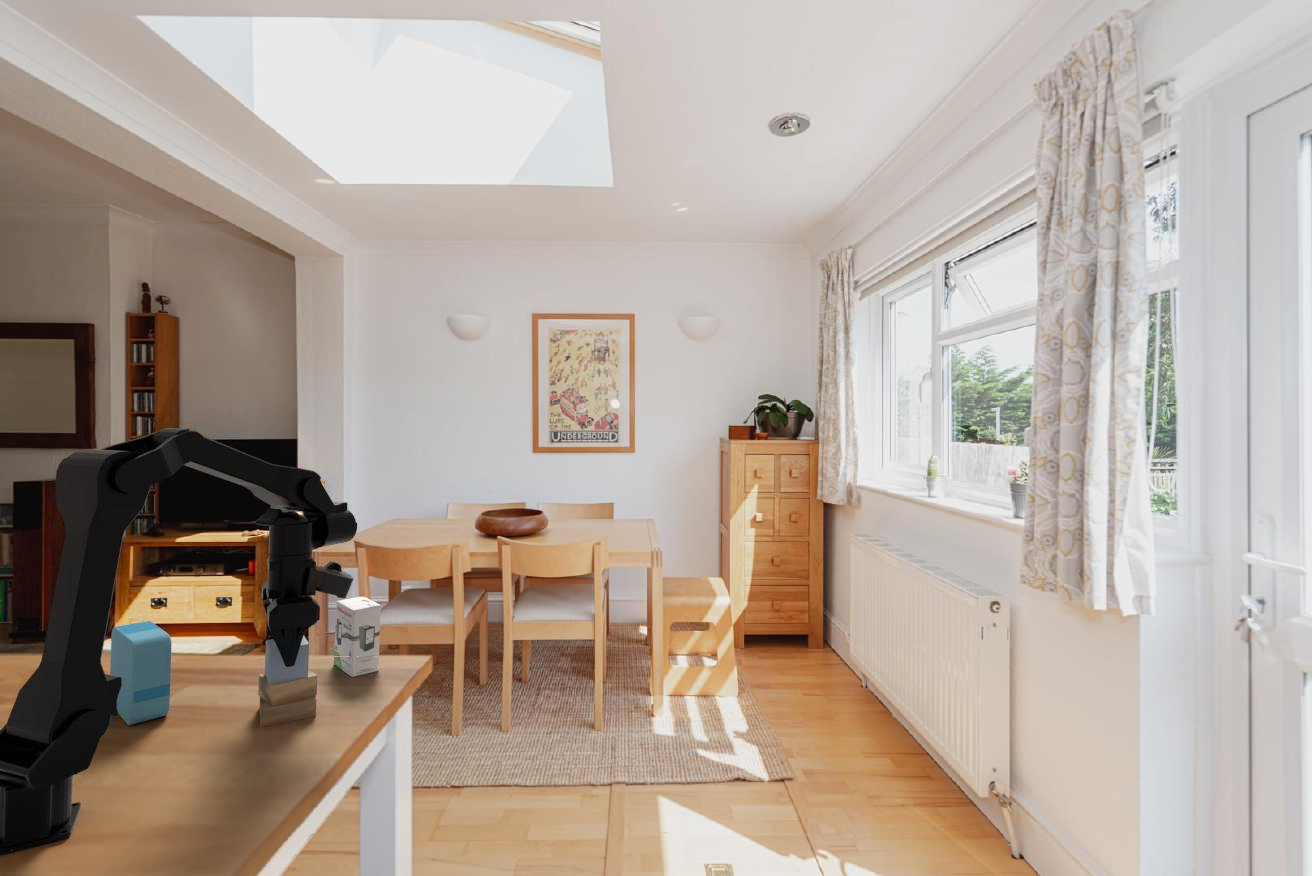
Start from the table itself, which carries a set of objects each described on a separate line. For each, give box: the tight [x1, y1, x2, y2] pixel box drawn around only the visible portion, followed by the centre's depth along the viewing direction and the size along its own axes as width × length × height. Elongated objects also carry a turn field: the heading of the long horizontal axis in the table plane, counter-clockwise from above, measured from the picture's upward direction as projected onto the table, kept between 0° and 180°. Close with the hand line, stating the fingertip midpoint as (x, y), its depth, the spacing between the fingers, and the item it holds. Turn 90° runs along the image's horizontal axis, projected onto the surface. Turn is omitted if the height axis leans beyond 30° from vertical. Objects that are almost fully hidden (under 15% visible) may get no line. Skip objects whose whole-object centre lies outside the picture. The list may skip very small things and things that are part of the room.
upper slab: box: [257, 668, 318, 707], centre depth 95 cm, size 6×6×3 cm
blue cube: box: [264, 634, 310, 684], centre depth 94 cm, size 5×5×5 cm
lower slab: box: [258, 695, 317, 728], centre depth 94 cm, size 7×7×3 cm
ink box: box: [333, 596, 382, 678], centre depth 113 cm, size 9×5×12 cm, turn 47°
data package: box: [109, 620, 172, 726], centre depth 93 cm, size 12×4×12 cm, turn 52°
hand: (287, 656), depth 94 cm, fingers open, 9 cm apart
